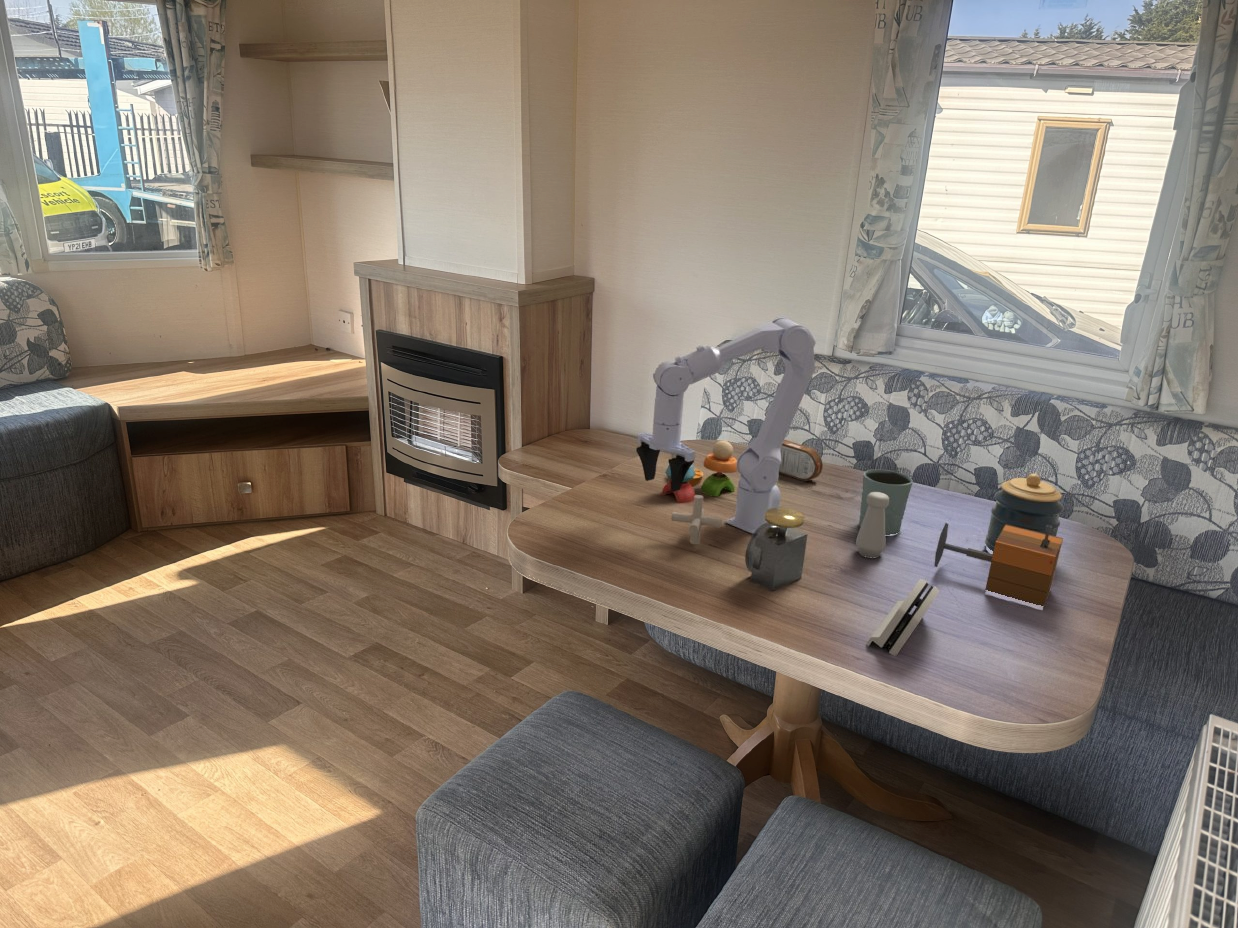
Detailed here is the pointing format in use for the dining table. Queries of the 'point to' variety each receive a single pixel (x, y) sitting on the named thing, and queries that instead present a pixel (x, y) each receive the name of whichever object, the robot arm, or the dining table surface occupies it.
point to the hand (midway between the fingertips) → (662, 484)
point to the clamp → (1016, 562)
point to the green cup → (894, 488)
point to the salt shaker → (873, 526)
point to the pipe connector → (696, 519)
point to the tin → (799, 461)
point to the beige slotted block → (904, 618)
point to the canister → (1024, 507)
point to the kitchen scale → (777, 549)
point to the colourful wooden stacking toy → (714, 483)
